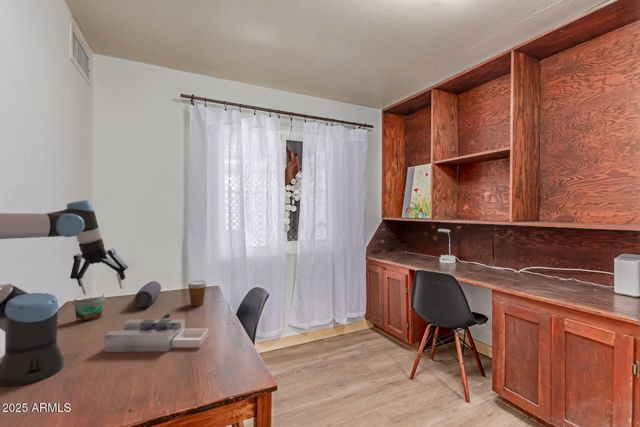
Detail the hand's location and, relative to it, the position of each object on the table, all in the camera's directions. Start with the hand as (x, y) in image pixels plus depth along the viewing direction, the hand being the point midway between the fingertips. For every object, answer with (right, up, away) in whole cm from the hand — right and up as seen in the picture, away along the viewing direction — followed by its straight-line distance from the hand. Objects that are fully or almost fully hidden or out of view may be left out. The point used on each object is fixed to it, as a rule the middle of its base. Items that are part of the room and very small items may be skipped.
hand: (105, 290), depth 123 cm
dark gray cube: (+20, -15, -5) cm, 26 cm away
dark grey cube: (+26, -15, -5) cm, 31 cm away
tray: (+37, -19, -4) cm, 41 cm away
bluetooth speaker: (-7, -18, +44) cm, 48 cm away
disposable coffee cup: (+20, -19, +43) cm, 51 cm away
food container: (-18, -18, +17) cm, 31 cm away
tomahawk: (+13, -19, +14) cm, 27 cm away
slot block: (+20, -19, -5) cm, 28 cm away
